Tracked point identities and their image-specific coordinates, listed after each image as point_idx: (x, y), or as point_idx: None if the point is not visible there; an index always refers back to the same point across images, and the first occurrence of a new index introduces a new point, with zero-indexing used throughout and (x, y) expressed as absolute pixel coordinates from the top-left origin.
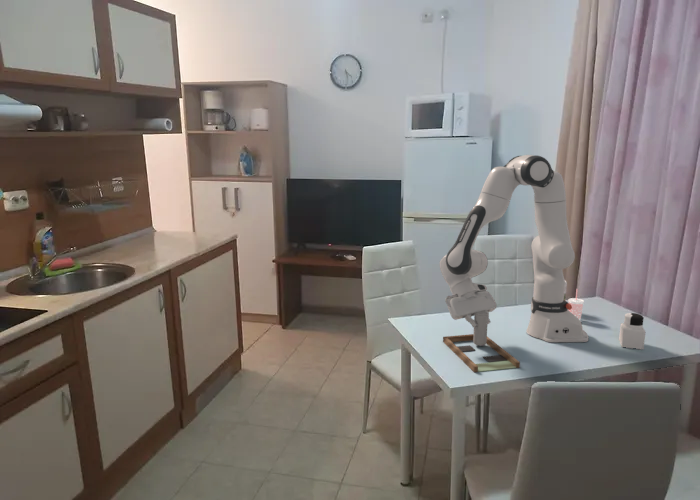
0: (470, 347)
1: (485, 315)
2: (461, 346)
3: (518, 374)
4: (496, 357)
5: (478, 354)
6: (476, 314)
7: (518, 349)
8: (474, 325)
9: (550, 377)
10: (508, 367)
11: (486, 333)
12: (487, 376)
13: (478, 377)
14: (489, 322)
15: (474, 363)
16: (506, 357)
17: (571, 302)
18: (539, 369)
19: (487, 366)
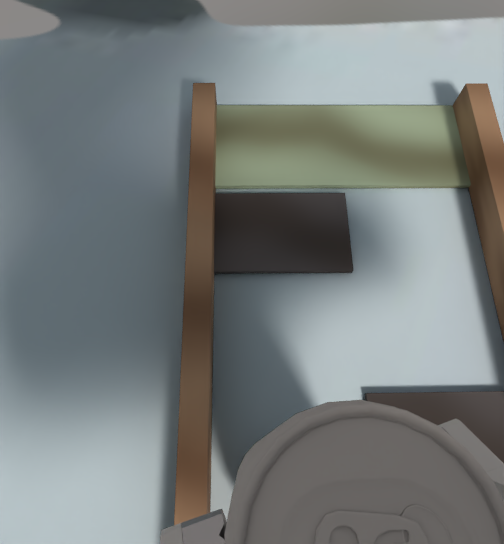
0: None
1: (321, 421)
2: None
3: (245, 53)
4: (266, 239)
5: (363, 325)
6: (500, 511)
7: (23, 349)
8: (459, 430)
9: (111, 5)
10: (262, 110)
11: (257, 442)
12: (413, 64)
13: (462, 64)
14: (182, 524)
15: (476, 118)
16: (214, 199)
17: None
18: (103, 76)
19: (377, 142)
